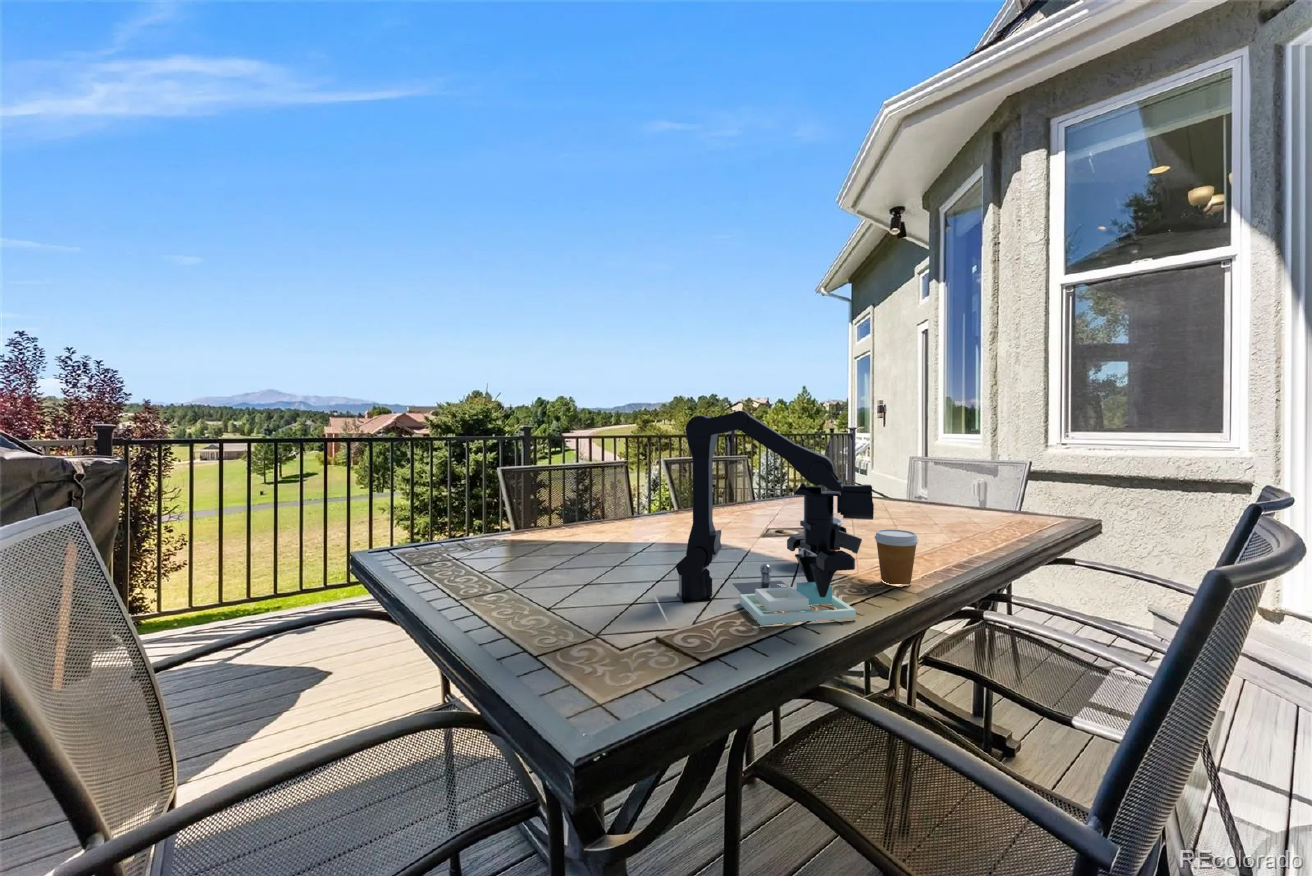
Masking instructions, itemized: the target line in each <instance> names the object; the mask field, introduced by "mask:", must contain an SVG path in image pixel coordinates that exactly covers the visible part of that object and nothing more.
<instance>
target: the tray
mask: <svg viewBox="0 0 1312 876" xmlns="http://www.w3.org/2000/svg"><path fill="white" fill-rule="evenodd" d="M739 605H740V606H742V608H743V609H746V610H747V611H748V612H749V613H750V614H751V615H752V616H753V617H754V618H753V617H752V616H751V615H750V614H749V613H748V612H747V611H746V610H745V611H746V612H747V613H748V614H749V615H750V616H751V617H752V618H753V619H754V621H756V620H757V621H756V622H757V624H758V625H759V624H760V625H773V624H783V623H791V622H792V623H793V622H805V621H815V620H835V619H844V618H853V617H856V616H857V610H856V609H855V608H854V607H852V606H850V605H849V604H848V603H846V602H845V601H843V600H841V598H839V597H837V595H834V594H833V593H832V605H833V606H835V607H836V608H837V609H834V610H819V611H818V610H817V611H814V610H811V609H810V610H792V611H805V612H790V613H778V612H777V613H774V612H766V613H765V612H764V613H763V612H762V611H768V610H767V609H766V608H765V607H760V606H763V605H761V604H760V603H759V602H758V601H757V600H756V599H755V594H742V593H741V594H739ZM757 606H758V607H757ZM809 606H810V605H809ZM811 606H812V605H811ZM856 618H857V617H856Z"/></svg>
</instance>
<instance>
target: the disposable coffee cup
mask: <svg viewBox="0 0 1312 876" xmlns="http://www.w3.org/2000/svg"><path fill="white" fill-rule="evenodd" d="M874 539H875V542H876V546H877V556H878V564H879V572H880V579H882V580H883V581H884V582H886V583H889V584H910V583H911V584H912V579H913V571H914V563H915V557H916V550H917V549H916V548H917V545H918V543H919V542H920V541H919V540H920V539H919V538H918V536H917V533H915V532H913V531H911V530H910V531H909V530H906V529H905V530H904V529H896V528H895V529H894V528H893V529H892V528H891V529H889V528H886V529H878V530H877V531H876V533H875V535H874Z"/></svg>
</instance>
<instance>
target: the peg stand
mask: <svg viewBox="0 0 1312 876" xmlns="http://www.w3.org/2000/svg"><path fill="white" fill-rule="evenodd" d="M772 570H773V569H772V566H771V565H770V564H768V563H762V564H761V566H760V568H759V572H760V575H761V576H760V581H752V582H751V581H750V582H737V583H736V582H735V583H734V582H733V583H732V585H733V586H734V587H735V588H736V589H737V590H738V591H739V593H741V594H755V589H764V588H780V587H781V586H779V585H777V584H786V583H785V582H784V581H782V580H771V573H772Z"/></svg>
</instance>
